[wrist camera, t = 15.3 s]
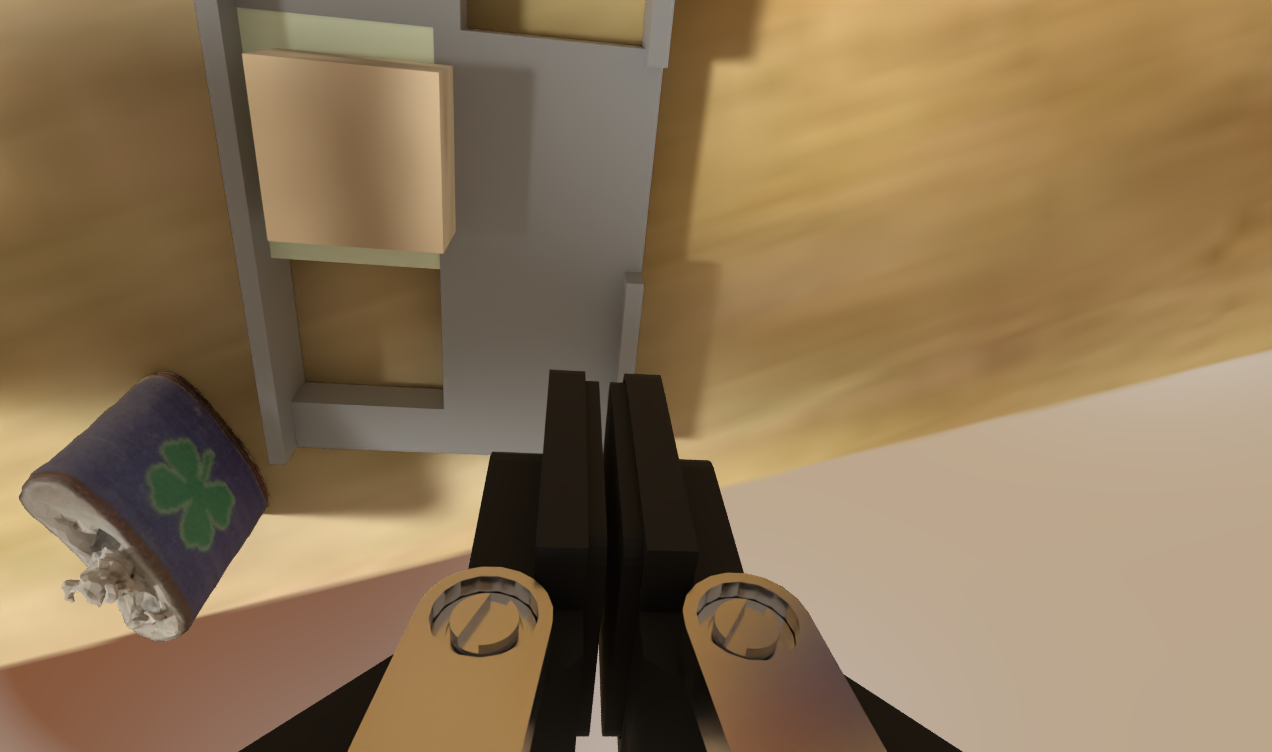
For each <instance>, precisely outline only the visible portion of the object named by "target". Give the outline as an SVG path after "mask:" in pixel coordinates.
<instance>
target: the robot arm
mask: <svg viewBox="0 0 1272 752" xmlns="http://www.w3.org/2000/svg"><path fill="white" fill-rule="evenodd" d="M598 645H599V662H600V692H601V693H600V695H601V725H602V736H617V738H618V752H962V751H960V750H959V749H958V748H956V747H954V746H953V745H951V744H950V743H948V742H947V741H945V740H944V739H942V738H941V737H939V736H938V735H936V734H934V733H933V732H931V731H930V730H928V729H927V728H925V727H924V726H922V725H921V724H919V723H918V722H916V721H914V720H913V719H911V718H910V717H908V716H907V715H905V714H904V713H902V712H900V711H899V710H897V709H896V708H894V707H893V706H891V705H890V704H888V703H887V702H885V701H884V700H882V699H881V698H879V697H877V696H876V695H874V694H873V693H871V692H870V691H868V690H866V689H865V688H864V687H862V686H861V685H859V684H858V683H856V682H854V681H853V680H851V679H850V678H848V677H847V676H845V675H844V674H843V673H842V671H841V670H840V668H839V666H838V664H837V662H836V661H835V659H834V657H833V655H832V654H831V652H830V650H829V648H828V646H827V645H826V643H825V641H824V639H823V638H822V636H821V634H820V632H819V630H818V629H817V627H816V625H815V623H814V622H813V620H812V618H811V616H810V615H809V613H808V611H807V610H806V609H805V608H804V606H803V605H802V604H801V603H800V601H799V600H798V599H797V598H796V597H795V596H794V595H792V594H791V593H790V592H789V591H787V590H786V589H785V588H783V587H782V586H780V585H778V584H776V583H774V582H772V581H770V580H768V579H765V578H762V577H758V576H754V575H750V574H746V573H744V572H743V569H742V565H741V562H740V558H739V555H738V551H737V548H736V544H735V541H734V537H733V534H732V530H731V527H730V523H729V520H728V516H727V513H726V509H725V506H724V503H723V499H722V495H721V492H720V488H719V485H718V481H717V478H716V474H715V471H714V468H713V465H712V463H711V462H710V461H708V460H684V459H679V457H678V453H677V448H676V444H675V439H674V434H673V430H672V425H671V421H670V416H669V411H668V407H667V402H666V397H665V393H664V388H663V384H662V379H661V376H660V375H644V374H625V373H624V377H623V383H620V382H610V385H609V393H608V404H607V415H606V426H605V437H604V448H603V445H602V426H601V407H600V388H599V381H586V374H585V371H570V370H552V369H550V370H549V382H548V395H547V407H546V420H545V433H544V445H543V454H541V453H517V452H492V453H491V456H490V460H489V465H488V471H487V476H486V481H485V486H484V491H483V496H482V502H481V507H480V512H479V517H478V522H477V527H476V532H475V538H474V543H473V548H472V553H471V558H470V563H469V569H467V570H462V571H459V572H457V573H455V574H452V575H450V576H448V577H446V578H444V579H442V580H441V581H439V582H438V583H437V584H435V585H434V586H433V587H432V588H430V589H429V590H428V591H427V592H426V594H425V595H424V596H423V598H422V599H421V601H420V602H419V603H418V605H417V607H416V609H415V611H414V613H413V615H412V617H411V619H410V622H409V624H408V626H407V628H406V630H405V632H404V634H403V636H402V638H401V641H400V642H399V645H398V647H397V649H396V651H395V653H394V654H393V655H392V656H390V657H388V658H387V659H385V660H384V661H382V662H380V663H379V664H377V665H376V666H374V667H372V668H371V669H369V670H368V671H366V672H364V673H363V674H361V675H360V676H358V677H357V678H355V679H354V680H352V681H350V682H349V683H347V684H345V685H344V686H342V687H341V688H339V689H337V690H336V691H335V692H333V693H331V694H330V695H328V696H326V697H325V698H323V699H322V700H320V701H318V702H317V703H315V704H314V705H312V706H310V707H309V708H307V709H306V710H304V711H302V712H301V713H299V714H298V715H296V716H294V717H293V718H291V719H290V720H288V721H286V722H285V723H284V724H282V725H280V726H279V727H277V728H275V729H274V730H272V731H271V732H269V733H267V734H266V735H264V736H263V737H261V738H260V739H258V740H256V741H255V742H253V743H251V744H250V745H249V746H247V747H245V748H244V749H242V750H240V751H239V752H575V745H576V736H589V732H590V722H591V713H592V704H593V694H594V684H595V673H596V664H597V654H598Z"/></svg>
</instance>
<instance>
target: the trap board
mask: <svg viewBox="0 0 1272 752" xmlns="http://www.w3.org/2000/svg"><path fill="white" fill-rule="evenodd" d="M194 4H195V10H196V16H197V22H198V29H199V35H200V41H201V47H202V53H203V59H204V66H205V72H206V78H207V84H208V90H209V96H210V103H211V109H212V115H213V121H214V127H215V134H216V140H217V146H218V152H219V158H220V164H221V171H222V177H223V183H224V189H225V195H226V201H227V208H228V214H229V220H230V226H231V232H232V238H233V245H234V251H235V257H236V263H237V269H238V275H239V282H240V288H241V294H242V300H243V306H244V312H245V319H246V325H247V331H248V337H249V343H250V349H251V356H252V362H253V368H254V374H255V380H256V387H257V393H258V399H259V405H260V411H261V417H262V424H263V430H264V436H265V442H266V448H267V454H268V461H269V464H276V465H286V464H287V463H288V461H289V459H290V458H291V456H292V455H293V453H294V451H295V450H296V448H297V447H305V448H329V449H354V450H378V451H402V452H426V453H450V454H475V455H491V453H492V452H517V453H541V454H543V445H544V433H545V420H546V407H547V395H548V382H549V370H550V369H552V370H570V371H585V374H586V381H599V388H600V407H601V426H602V445H603V448H604V437H605V426H606V415H607V404H608V393H609V385H610V382H620V383H623V377H624V373H625V374H635V366H636V357H637V348H638V338H639V329H640V320H641V311H642V301H643V292H644V281H643V277H642V264H643V255H644V245H645V236H646V226H647V217H648V207H649V198H650V188H651V179H652V169H653V159H654V150H655V140H656V131H657V121H658V112H659V102H660V93H661V83H662V74H663V68H668V60H669V51H670V41H671V32H672V23H673V14H674V4H675V0H646V4H645V15H644V26H643V37H642V46H635V45H625V44H616V43H606V42H596V41H587V40H577V39H567V38H557V37H548V36H538V35H528V34H518V33H509V32H499V31H489V30H480V29H470V28H468V0H194ZM273 48H279V49H289V50H299V51H310V52H320V53H330V54H340V55H350V56H360V57H370V58H380V59H390V60H401V61H411V62H421V63H431V64H441V65H451V66H453V98H454V158H455V218H456V232H455V234H454V236H453V237H452V239H451V241H450V243H449V245H448V246H447V248H446V250H445V252H444V253H443V254H440V253H426V252H413V251H399V250H385V249H372V248H358V247H345V246H331V245H317V244H304V243H290V242H277V241H268V239H267V232H266V225H265V218H264V211H263V203H262V196H261V189H260V182H259V174H258V167H257V160H256V153H255V146H254V138H253V131H252V124H251V117H250V110H249V102H248V95H247V88H246V81H245V74H244V66H243V59H242V53H247V52H254V51H260V50H267V49H273ZM290 259H295V260H310V261H325V262H339V263H354V264H369V265H384V266H398V267H413V268H428V269H440V286H441V321H442V356H443V389H433V388H413V387H393V386H373V385H353V384H334V383H314V382H305V376H304V368H303V360H302V352H301V344H300V337H299V329H298V321H297V313H296V305H295V297H294V289H293V281H292V273H291V266H290Z"/></svg>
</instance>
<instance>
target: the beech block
mask: <svg viewBox="0 0 1272 752" xmlns="http://www.w3.org/2000/svg"><path fill="white" fill-rule="evenodd" d="M242 59H243V66H244V74H245V81H246V88H247V95H248V102H249V110H250V117H251V124H252V131H253V138H254V146H255V153H256V160H257V167H258V174H259V182H260V189H261V196H262V203H263V211H264V218H265V225H266V232H267V239H268V241H277V242H290V243H304V244H317V245H331V246H345V247H358V248H372V249H385V250H399V251H413V252H426V253H440V254H443V253H444V252H445V250H446V248H447V246H448V245H449V243H450V241H451V239H452V237H453V236H454V234H455V232H456V218H455V158H454V98H453V66H451V65H441V64H431V63H421V62H411V61H401V60H390V59H380V58H370V57H360V56H350V55H340V54H330V53H320V52H310V51H299V50H289V49H279V48H273V49H267V50H260V51H254V52H247V53H242Z"/></svg>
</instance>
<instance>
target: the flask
mask: <svg viewBox="0 0 1272 752" xmlns="http://www.w3.org/2000/svg"><path fill="white" fill-rule="evenodd" d="M156 374H158V375H154V374H150V375H148V376H145V377H144V378H142V379H141V380H139V381H138V383H137V384H136V385H134V386H133V387H132V388H131V389H130V390H129V391H128V392H127V393H126V394H125V395H124V396H123V397H122V398H121V399H120V400H119V401H118V402H117V403H116V404H114V405H113V406H112V407H110V408H109V409H107V410H106V411H105V412H104V413H103V414H102V415H101V416H100V417H99V418H98V419H97V420H96V421H95V422H94V423H93V424H92V425H91V426H90V427H89V428H88V429H87V430H85V431H84V432H83V433H82V434H80V435H79V436H77V437H76V438H75V439H74V440H73V441H72V442H71V443H70V444H69V445H67V446H66V447H65V448H64V449H63V450H62V451H60V452H59V453H58V454H57V455H56V456H55V457H53V458H52V459H51V460H50V461H49V462H48V463H46V464H44V465H42V466H41V467H39V468H38V469H37V470H35V471H34V472H33V473H31V475H30V477H29V479H28V480H27V481H26V482H25V484H24V485H23V486H22V492H21V494H20V495H19V500H20V501H21V503H22V505H23V506H24V508H25V509H26V510H27V511H28V512H29V513H30V515H31V516H32V517H33V518H35V519H36V520H38V521H39V522H40V523H42V524H43V525H44V526H45V527H46V528H47V529H48V530H49V531H50V532H51V533H53V534H54V535H56V536H57V537H59V538H60V540H61V541H62V542H63V543H64V544H65V545H66V546H67V547H68V548H69V549H70V550H71V551H72V552H74V553H75V554H76V555H77V556H78V557H79V558H80V559H81V561H82V562H83V563H84V564H85V565H86V566H87V567H88V568H87V569H86V570H85V571H84V572H83V573H82V574H81V575H80V579H81V580H66V581H65V582H64V583H63V585H62V589H63V591H64V592H65V600H67V601H69V602H75V600H74V596H73V594H74V593H75V592H81V593H82V594H83V595H84V597H85V598H86V600H87V602H88V603H90V604H96V605H98V607H100V606H101V605H102V602H103V599H104V598H105V599H104V603H113V602H114V601H116V603H117V605H118V608H119V611H120V612H121V613H122V615H123V618H124V622H125V623H126V626H127V627H128V628H129V629H133V631H134V632H136V633H138V634H139V635H141V636H144V637H148V638H150V639H151V640H157V641H163V642H166V641H169V640H172V639H174V638H177V637H179V636H180V635H182V634H183V633H185V632H186V631H187V630H188V629H189V628H190V626H191V625H192V623H193V621H194V620H195V618H196V616H197V615H198V613H199V611H200V610H201V608H202V607H203V605H204V603H205V602H206V600H207V599H208V597H209V595H210V594H211V592H212V591H213V589H214V588H215V587H216V585H217V584H218V582H219V580H220V579H221V577H222V575H223V573H224V572H225V570H226V569H227V567H228V565H229V564H230V562H231V561H232V559H233V558H234V557H235V555H236V554H237V553H238V551H239V550H240V548H241V547H242V546H243V544H244V542H245V541H246V539H247V538H248V537H249V535H250V534H251V532H252V530H253V529H254V527H255V525H256V524H257V522H258V520H259V518H260V517H261V515H262V514H263V513H264V511H265V509H266V508H267V507H268V506H269V502H270V495H269V494H268V488H267V485H266V483H265V482H264V479H263V478H262V476H261V474H260V471H259V468H258V466H257V465H255V464H254V461H253V457H251V456H250V453H249V451H248V450H246V448H245V447H244V446H243V443H242V442H241V441H240V440H239V439H237V438H236V436H235V435H233V432H231V429H230V427H229V426H228V425H227V424H226V423H225V422H224V420H223V419H222V418H221V417H220V416H219V414H218V412H216V411H215V410H214V409H213V408H212V406H211V404H209V403H208V401H207V400H205V399H204V398H203V395H201V393H200V392H199V391H198V390H197V388H194V387H193V386H192V385H190V384H189V383H188V382H186V381H185V380H184V379H182V377H181V376H180V377H178V376H177V375H176V374H175V373H169V372H158V373H156Z"/></svg>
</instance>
